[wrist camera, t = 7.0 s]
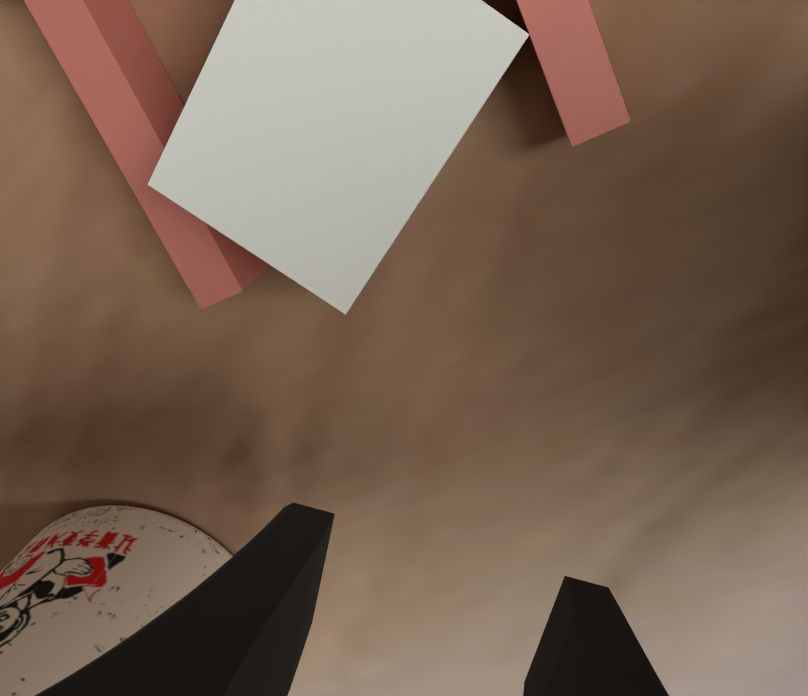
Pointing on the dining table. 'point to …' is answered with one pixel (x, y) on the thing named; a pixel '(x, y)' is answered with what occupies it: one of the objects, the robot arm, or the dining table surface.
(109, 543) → the teacup with lid
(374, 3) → the white rectangular block
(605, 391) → the dining table surface
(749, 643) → the dining table surface
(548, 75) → the pink u-shaped block
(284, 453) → the dining table surface
